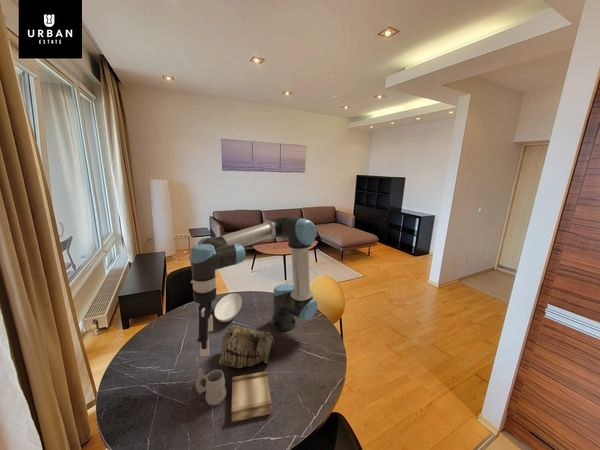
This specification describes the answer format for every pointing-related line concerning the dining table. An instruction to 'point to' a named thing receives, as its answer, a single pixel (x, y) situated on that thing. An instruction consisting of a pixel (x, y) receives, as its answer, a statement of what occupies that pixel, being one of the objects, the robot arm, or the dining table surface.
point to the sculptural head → (245, 347)
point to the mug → (212, 386)
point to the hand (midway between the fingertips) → (207, 342)
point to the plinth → (250, 396)
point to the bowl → (228, 307)
